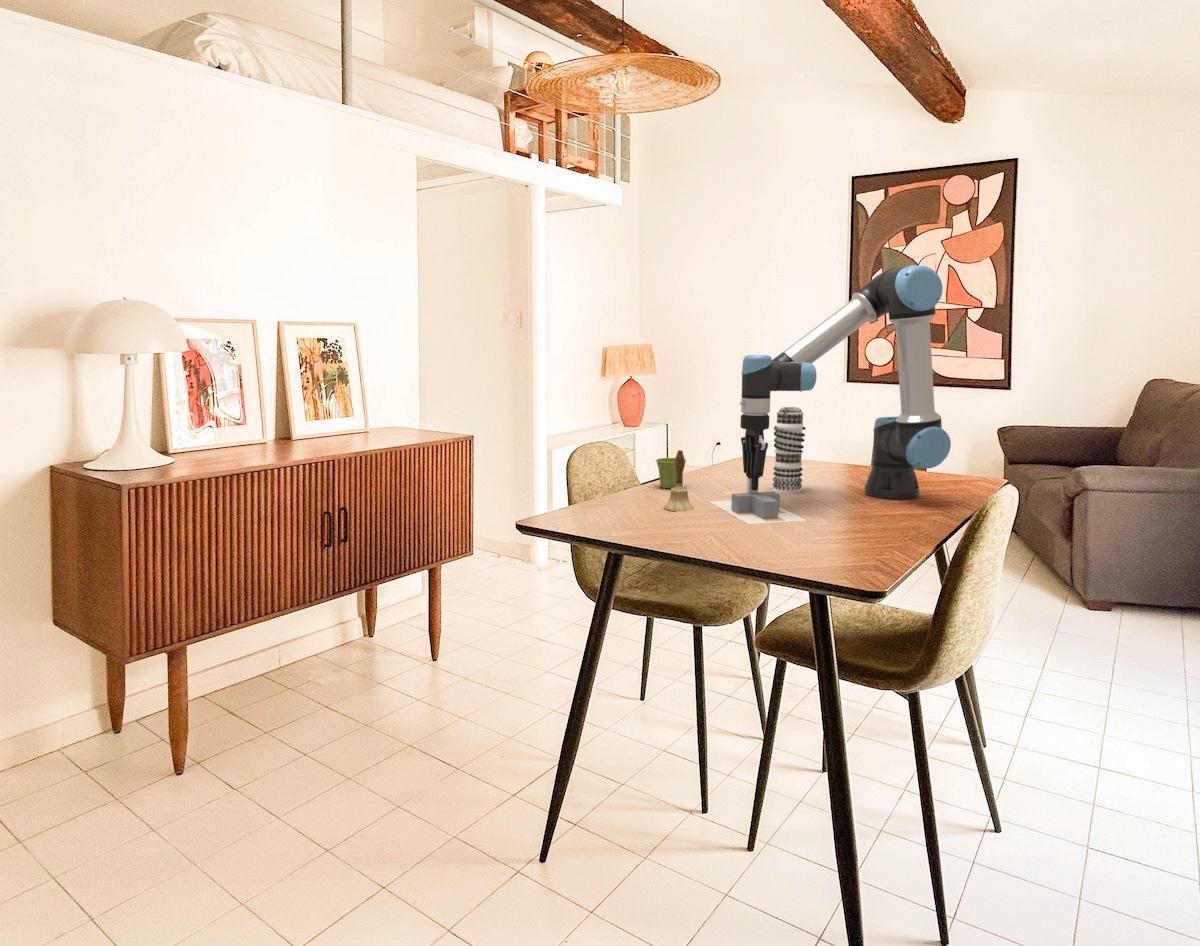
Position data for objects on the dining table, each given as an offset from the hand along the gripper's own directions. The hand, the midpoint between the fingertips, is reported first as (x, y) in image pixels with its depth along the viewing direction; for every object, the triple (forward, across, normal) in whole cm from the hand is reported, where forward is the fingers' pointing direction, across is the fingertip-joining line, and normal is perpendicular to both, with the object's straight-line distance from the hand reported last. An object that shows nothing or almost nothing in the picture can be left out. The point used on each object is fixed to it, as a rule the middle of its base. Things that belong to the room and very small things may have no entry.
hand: (752, 501), depth 224 cm
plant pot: (+3, -35, -12) cm, 37 cm away
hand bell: (+3, -5, -19) cm, 20 cm away
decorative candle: (+3, -23, +21) cm, 32 cm away
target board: (+2, +3, 0) cm, 3 cm away
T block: (+2, +7, 0) cm, 7 cm away
